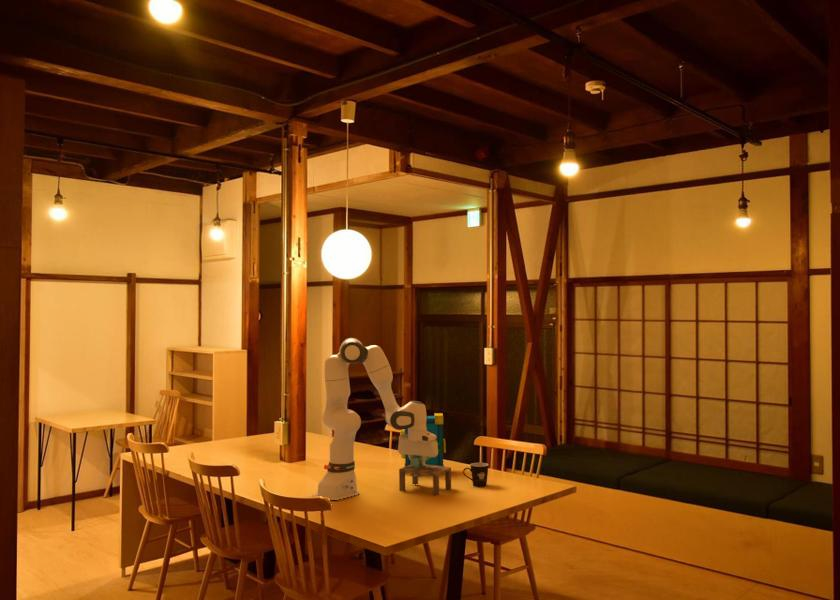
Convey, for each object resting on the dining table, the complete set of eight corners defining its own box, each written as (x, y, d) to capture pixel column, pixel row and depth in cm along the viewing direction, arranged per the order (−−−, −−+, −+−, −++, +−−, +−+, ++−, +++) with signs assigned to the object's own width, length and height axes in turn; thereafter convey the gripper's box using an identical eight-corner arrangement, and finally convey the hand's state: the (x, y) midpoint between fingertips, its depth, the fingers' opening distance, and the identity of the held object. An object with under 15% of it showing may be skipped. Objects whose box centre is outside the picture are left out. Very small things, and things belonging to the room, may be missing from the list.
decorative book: (446, 475, 346) (445, 416, 347) (400, 476, 346) (400, 417, 346) (444, 469, 360) (444, 412, 361) (401, 469, 360) (400, 413, 361)
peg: (418, 477, 316) (418, 458, 317) (411, 476, 318) (411, 457, 319) (424, 474, 322) (424, 455, 322) (417, 474, 324) (417, 455, 324)
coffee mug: (490, 483, 327) (489, 463, 327) (487, 488, 319) (486, 466, 319) (466, 482, 330) (466, 462, 331) (462, 486, 322) (462, 465, 322)
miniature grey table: (451, 488, 319) (450, 467, 319) (437, 495, 307) (436, 473, 307) (414, 483, 329) (414, 463, 329) (399, 490, 317) (399, 469, 317)
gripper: (395, 434, 323) (395, 464, 323) (432, 438, 313) (433, 468, 312) (402, 432, 328) (402, 461, 328) (439, 435, 318) (439, 465, 318)
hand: (417, 464), depth 320 cm, fingers closed on peg, 4 cm apart
